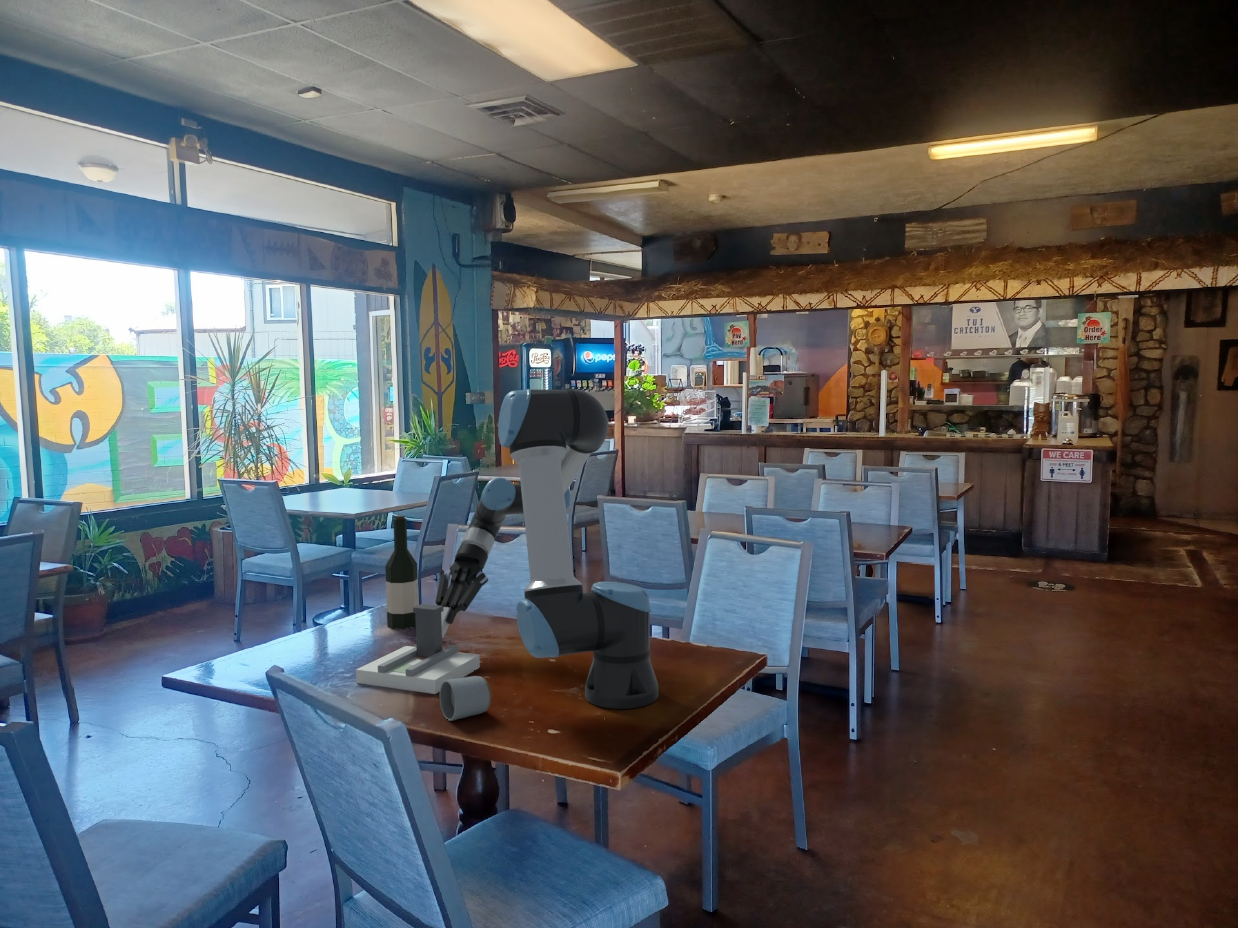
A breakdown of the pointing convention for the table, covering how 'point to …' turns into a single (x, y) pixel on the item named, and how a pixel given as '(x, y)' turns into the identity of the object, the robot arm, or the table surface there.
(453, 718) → the ceramic mug
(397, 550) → the wine bottle
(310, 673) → the table surface
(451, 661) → the plate
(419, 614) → the handle
